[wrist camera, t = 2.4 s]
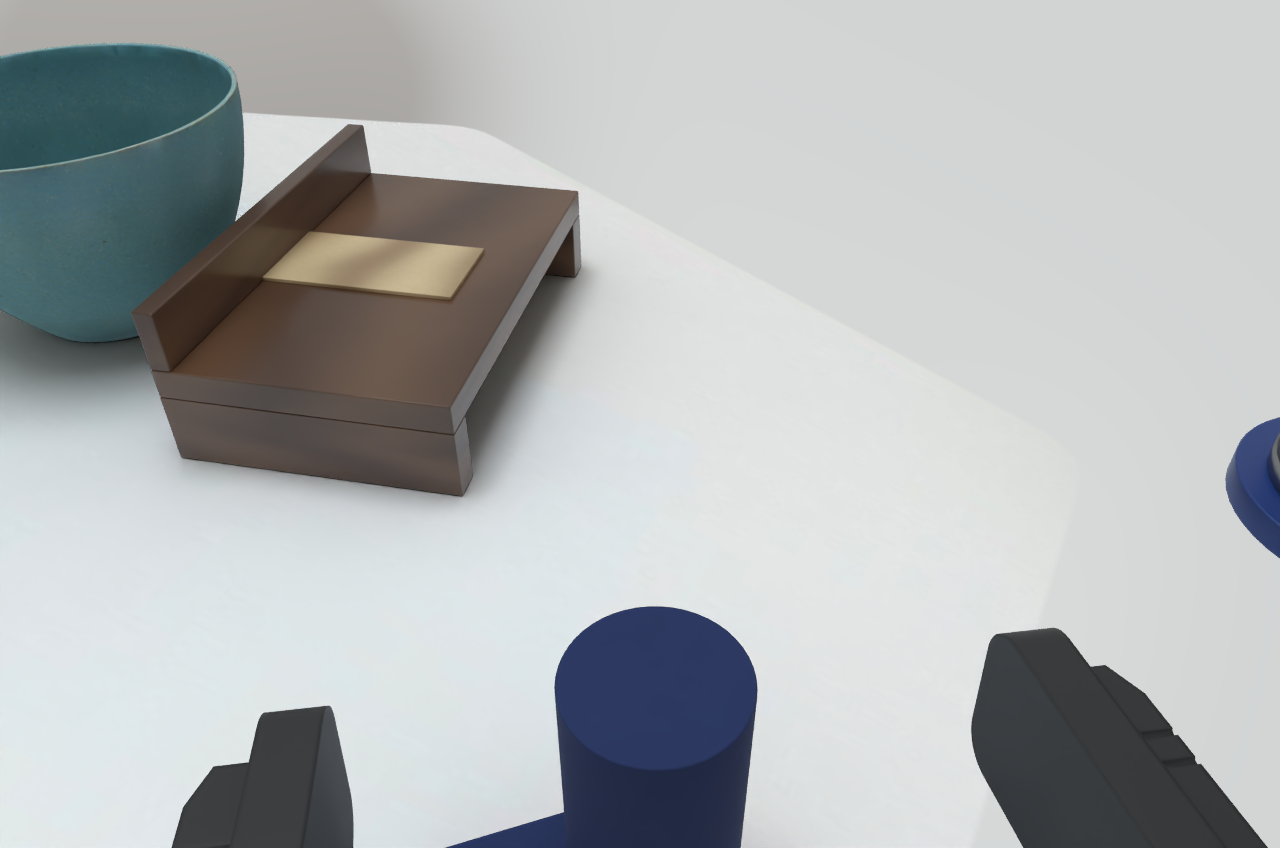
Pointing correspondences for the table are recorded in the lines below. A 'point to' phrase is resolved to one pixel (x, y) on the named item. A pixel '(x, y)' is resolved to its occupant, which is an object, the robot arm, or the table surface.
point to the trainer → (648, 737)
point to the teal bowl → (110, 178)
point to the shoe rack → (352, 319)
